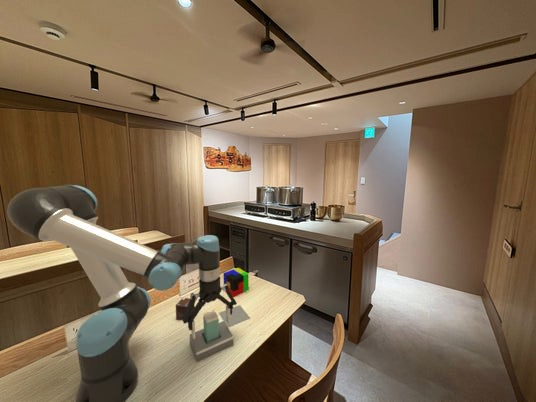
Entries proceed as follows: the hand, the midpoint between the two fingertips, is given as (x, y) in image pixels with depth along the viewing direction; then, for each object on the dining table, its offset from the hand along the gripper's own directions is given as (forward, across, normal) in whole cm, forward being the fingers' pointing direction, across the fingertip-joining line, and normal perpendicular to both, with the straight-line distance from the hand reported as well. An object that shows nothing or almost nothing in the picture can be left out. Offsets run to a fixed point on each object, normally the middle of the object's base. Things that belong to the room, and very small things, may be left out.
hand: (211, 329), depth 81 cm
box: (+7, -5, +22) cm, 24 cm away
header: (+7, 0, 0) cm, 7 cm away
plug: (+6, 0, 0) cm, 6 cm away
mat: (+7, +14, +10) cm, 18 cm away
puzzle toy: (+7, +24, +30) cm, 39 cm away
